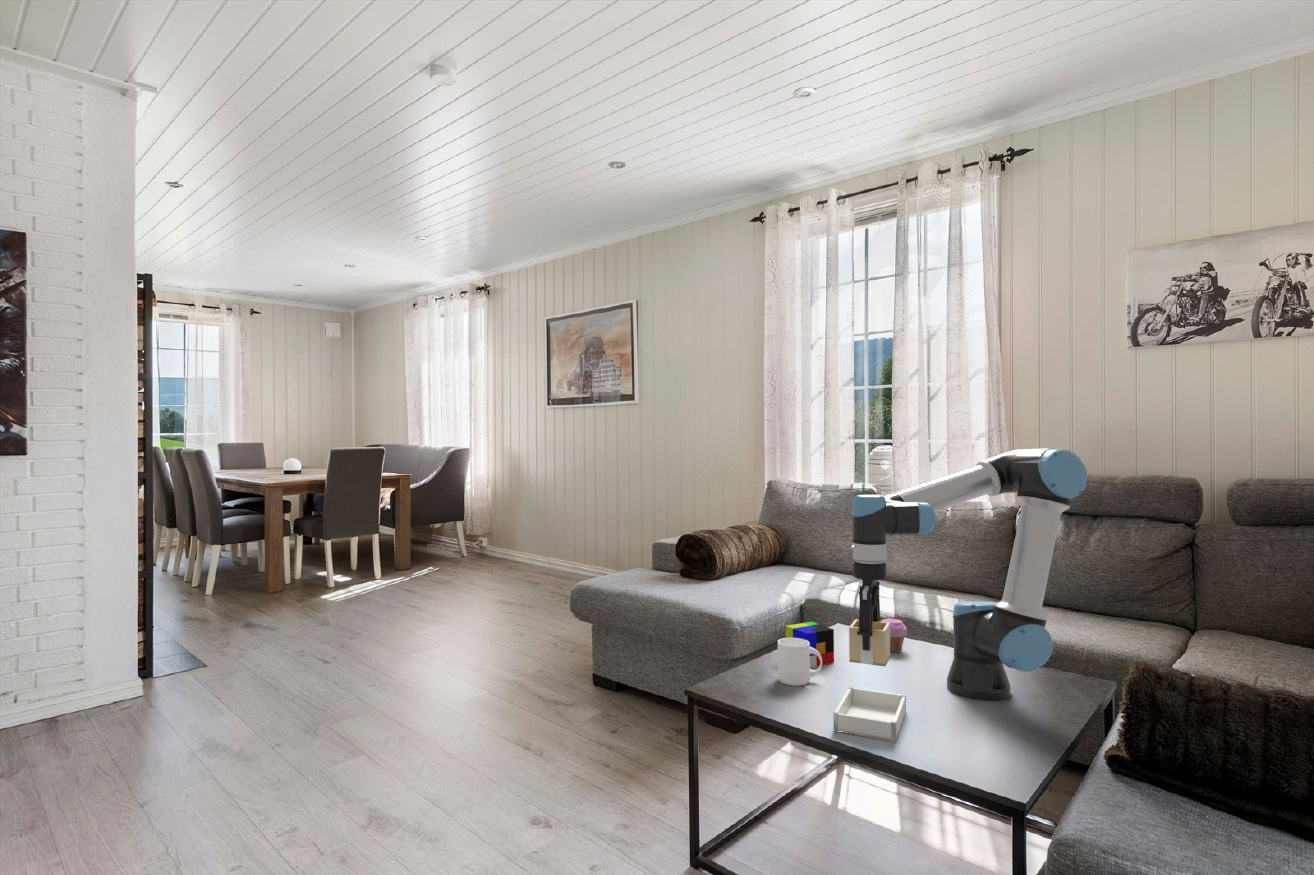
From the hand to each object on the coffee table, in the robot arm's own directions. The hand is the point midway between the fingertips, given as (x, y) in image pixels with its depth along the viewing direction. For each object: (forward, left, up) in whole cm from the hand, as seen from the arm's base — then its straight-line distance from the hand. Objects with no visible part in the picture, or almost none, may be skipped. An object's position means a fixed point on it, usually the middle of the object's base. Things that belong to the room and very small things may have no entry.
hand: (870, 658), depth 161 cm
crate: (0, 0, -15) cm, 15 cm away
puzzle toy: (+24, -39, -15) cm, 48 cm away
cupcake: (+3, -60, -15) cm, 62 cm away
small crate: (0, 0, 0) cm, 0 cm away
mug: (+22, -20, -15) cm, 33 cm away
